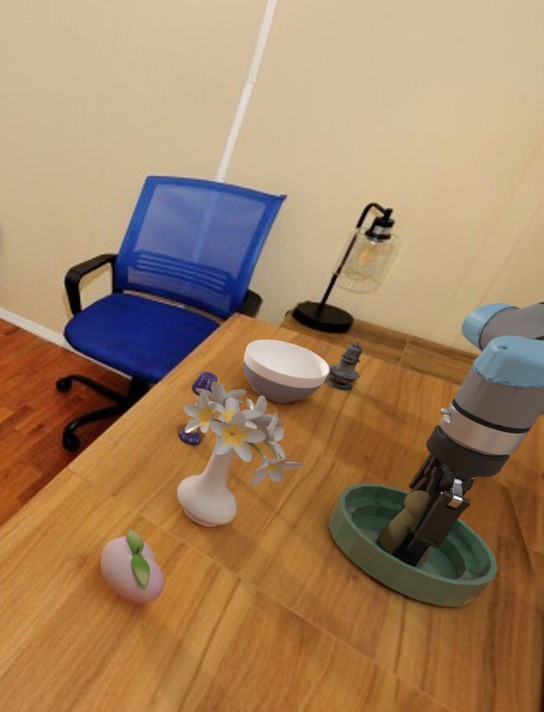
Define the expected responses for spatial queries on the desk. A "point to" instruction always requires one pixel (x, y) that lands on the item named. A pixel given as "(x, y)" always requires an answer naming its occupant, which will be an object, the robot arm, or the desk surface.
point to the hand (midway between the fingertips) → (401, 545)
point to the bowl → (283, 370)
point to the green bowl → (423, 582)
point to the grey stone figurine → (345, 368)
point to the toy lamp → (200, 383)
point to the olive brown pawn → (404, 523)
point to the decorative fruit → (132, 569)
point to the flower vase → (229, 452)
